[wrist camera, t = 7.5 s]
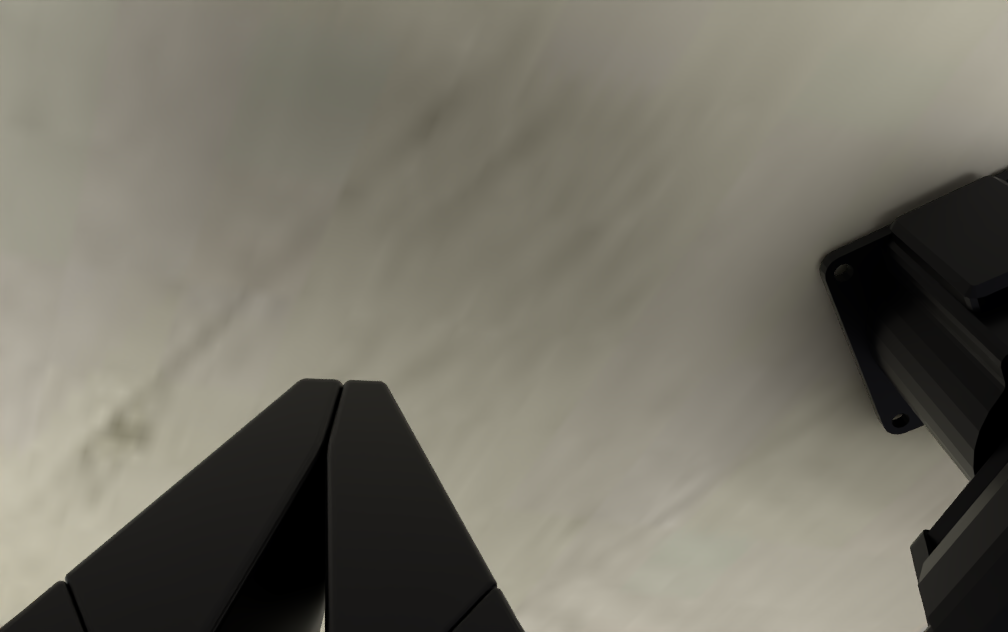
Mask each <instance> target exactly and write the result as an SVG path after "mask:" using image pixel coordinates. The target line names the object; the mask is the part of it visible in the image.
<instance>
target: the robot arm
mask: <svg viewBox="0 0 1008 632" xmlns="http://www.w3.org/2000/svg"><path fill="white" fill-rule="evenodd" d="M844 264H848V267H847V269H846V271H845V272H843V273H842V274H839V275H834V272H835V271H836V269H837V268H838V267H839V266H841V265H844ZM820 275H821V277H822V280H823V282H824V285H825V287H826V290H827V292H828V295H829V297H830V300H831V302H832V305H833V307H834V310H835V312H836V315H837V317H838V320H839V322H840V325H841V327H842V330H843V332H844V335H845V337H846V340H847V342H848V345H849V347H850V350H851V352H852V355H853V357H854V360H855V362H856V365H857V367H858V370H859V372H860V375H861V377H862V380H863V382H864V385H865V387H866V390H867V392H868V395H869V397H870V400H871V402H872V405H873V407H874V410H875V412H876V415H877V418H878V420H879V421H880V423H881V424H882V425H883V427H884V428H885V429H886V431H887V432H889V433H891V434H902V433H906V432H908V431H911V430H913V429H916V428H918V427H920V426H923V425H925V426H926V427H927V429H928V430H929V431H930V432H931V434H932V435H933V436H934V437H935V439H936V440H937V441H938V443H939V444H940V445H941V446H942V448H943V449H944V450H945V451H946V453H947V454H948V455H949V456H950V458H951V459H952V460H953V461H954V463H955V464H956V465H957V467H958V468H959V469H960V470H961V472H962V473H963V474H964V475H965V477H966V478H967V479H968V480H969V483H968V485H967V486H966V487H965V488H964V489H963V491H962V492H961V493H960V494H959V495H958V497H957V498H956V499H955V500H954V502H953V503H952V504H951V505H950V506H949V508H948V509H947V510H946V511H945V512H944V514H943V515H942V516H941V517H940V519H939V520H938V521H937V522H936V523H935V525H934V526H933V527H932V528H931V529H930V530H926V529H925V530H923V531H922V533H921V534H920V535H919V536H918V537H917V539H916V540H915V541H914V542H913V544H912V545H911V546H910V549H911V554H912V558H913V563H914V567H915V571H916V576H917V580H918V588H919V591H920V595H921V599H922V602H923V606H924V610H925V615H926V619H927V623H928V627H927V629H926V630H925V631H924V632H1008V170H1006V171H1004V172H1002V173H1000V174H998V175H996V176H994V177H993V176H986V177H983V178H981V179H979V180H977V181H975V182H973V183H971V184H968V185H966V186H964V187H962V188H960V189H958V190H956V191H953V192H951V193H949V194H947V195H945V196H943V197H941V198H938V199H936V200H934V201H932V202H930V203H928V204H926V205H923V206H921V207H919V208H917V209H915V210H913V211H911V212H908V213H906V214H904V215H902V216H900V217H898V218H897V219H896V220H895V221H894V222H893V223H892V224H891V225H888V226H886V227H884V228H882V229H880V230H878V231H876V232H873V233H871V234H869V235H867V236H865V237H863V238H861V239H858V240H856V241H854V242H852V243H850V244H848V245H846V246H843V247H841V248H839V249H837V250H835V251H833V252H831V253H830V254H828V255H827V256H826V257H825V258H824V259H823V261H822V262H821V265H820ZM902 413H903V414H902ZM898 414H902V416H901V417H899V418H898V419H894V420H893V418H894V417H895V416H897V415H898ZM324 611H325V632H525V631H524V630H523V628H522V626H521V625H520V623H519V621H518V620H517V618H516V616H515V614H514V612H513V611H512V609H511V607H510V605H509V603H508V602H507V600H506V598H505V596H504V594H503V593H502V591H501V590H500V589H498V588H497V583H496V581H495V579H494V577H493V575H492V574H491V572H490V570H489V568H488V566H487V565H486V563H485V561H484V559H483V557H482V556H481V554H480V552H479V550H478V548H477V547H476V545H475V543H474V541H473V539H472V538H471V536H470V534H469V532H468V530H467V529H466V527H465V525H464V523H463V521H462V520H461V518H460V516H459V514H458V512H457V511H456V509H455V507H454V505H453V503H452V502H451V500H450V498H449V496H448V494H447V493H446V491H445V489H444V487H443V485H442V484H441V482H440V480H439V478H438V476H437V475H436V473H435V471H434V469H433V467H432V466H431V464H430V462H429V460H428V458H427V457H426V455H425V453H424V451H423V449H422V448H421V446H420V444H419V442H418V440H417V439H416V437H415V435H414V433H413V431H412V430H411V428H410V426H409V424H408V422H407V421H406V419H405V417H404V415H403V413H402V412H401V410H400V408H399V406H398V404H397V403H396V401H395V399H394V397H393V395H392V394H391V392H390V390H389V388H388V387H387V385H386V384H385V383H384V382H381V381H361V380H350V381H347V382H345V384H344V385H343V384H342V383H341V382H340V381H339V380H334V379H308V378H306V379H302V380H300V381H298V382H297V383H296V384H295V385H293V386H292V387H291V388H290V389H289V390H287V391H286V392H285V393H284V394H283V395H281V396H280V397H279V398H278V399H277V400H275V401H274V402H273V403H272V404H271V405H269V406H268V407H267V408H266V409H265V410H263V411H262V412H261V413H260V414H259V415H257V416H256V417H255V418H254V419H253V420H251V421H250V422H249V423H248V424H247V425H245V426H244V427H243V428H242V429H241V430H239V431H238V432H237V433H236V434H235V435H233V436H232V437H231V438H230V439H229V440H227V441H226V442H225V443H224V444H223V445H221V446H220V447H219V448H218V449H217V450H215V451H214V452H213V453H212V454H211V455H209V456H208V457H207V458H206V459H205V460H203V461H202V462H201V463H200V464H199V465H197V466H196V467H195V468H194V469H193V470H191V471H190V472H189V473H188V474H187V475H185V476H184V477H183V478H182V479H181V480H179V481H178V482H177V483H176V484H175V485H173V486H172V487H171V488H170V489H169V490H167V491H166V492H165V493H164V494H163V495H161V496H160V497H159V498H158V499H157V500H155V501H154V502H153V503H152V504H151V505H149V506H148V507H147V508H146V509H145V510H143V511H142V512H141V513H140V514H139V515H137V516H136V517H135V518H134V519H133V520H131V521H130V522H129V523H128V524H127V525H125V526H124V527H123V528H122V529H121V530H119V531H118V532H117V533H116V534H115V535H113V536H112V537H111V538H110V539H109V540H107V541H106V542H105V543H104V544H103V545H101V546H100V547H99V548H98V549H97V550H95V551H94V552H93V553H92V554H91V555H89V556H88V557H87V558H86V559H85V560H83V561H82V562H81V563H80V564H79V565H77V566H76V567H75V568H74V569H73V570H71V571H70V572H69V573H68V574H67V575H66V577H65V582H64V581H58V582H57V583H55V584H54V585H53V586H52V587H50V588H49V589H48V590H47V591H46V592H44V593H43V594H42V595H41V596H40V597H38V598H37V599H36V600H35V601H34V602H32V603H31V604H30V605H29V606H28V607H26V608H25V609H24V610H23V611H22V612H20V613H19V614H18V615H16V616H15V617H14V618H13V619H11V620H10V621H9V622H8V623H6V624H5V625H4V626H3V627H1V628H0V632H320V628H321V624H322V620H323V616H324Z"/></svg>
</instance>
